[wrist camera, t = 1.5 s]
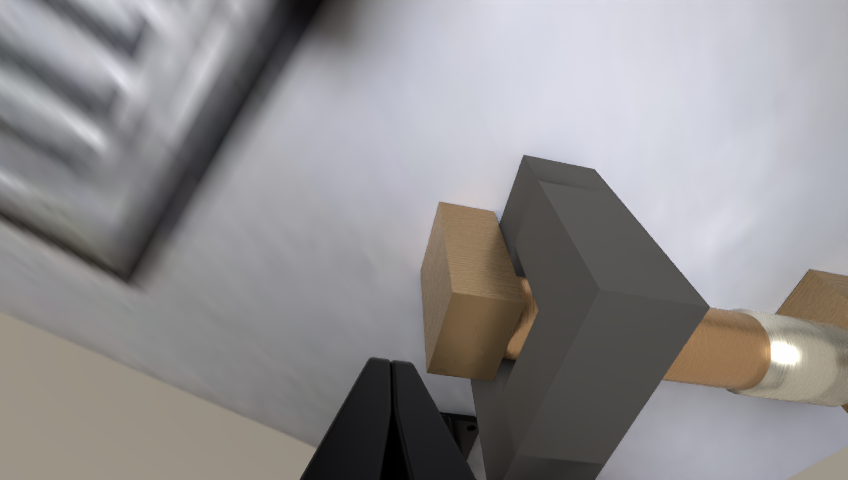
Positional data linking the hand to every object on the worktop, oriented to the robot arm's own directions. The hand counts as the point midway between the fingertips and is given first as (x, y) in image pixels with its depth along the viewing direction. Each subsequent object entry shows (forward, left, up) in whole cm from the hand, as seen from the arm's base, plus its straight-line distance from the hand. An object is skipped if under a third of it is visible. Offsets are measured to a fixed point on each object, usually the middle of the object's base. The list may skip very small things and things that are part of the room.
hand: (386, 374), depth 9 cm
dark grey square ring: (-3, -6, -11) cm, 14 cm away
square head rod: (-3, -12, -11) cm, 17 cm away
